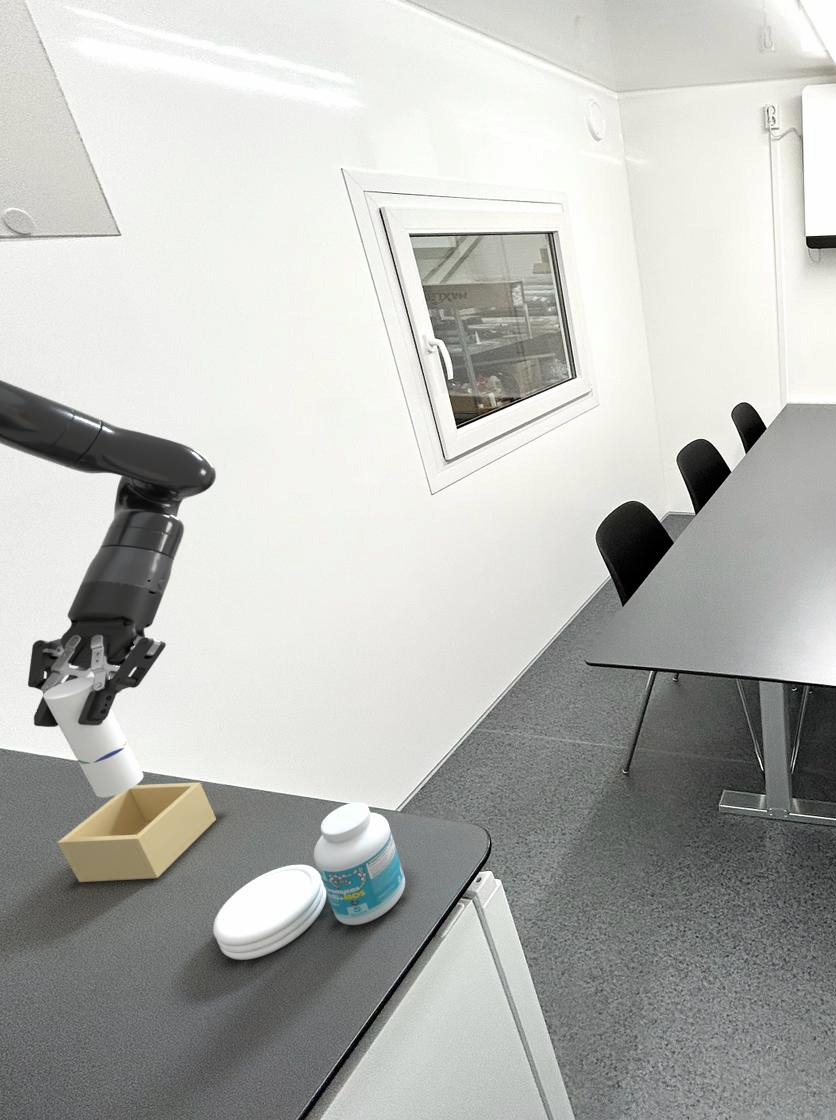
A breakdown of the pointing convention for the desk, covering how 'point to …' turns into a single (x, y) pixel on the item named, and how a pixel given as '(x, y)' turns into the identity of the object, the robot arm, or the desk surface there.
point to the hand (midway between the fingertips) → (67, 724)
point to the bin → (138, 832)
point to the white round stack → (269, 912)
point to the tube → (94, 740)
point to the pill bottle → (358, 864)
